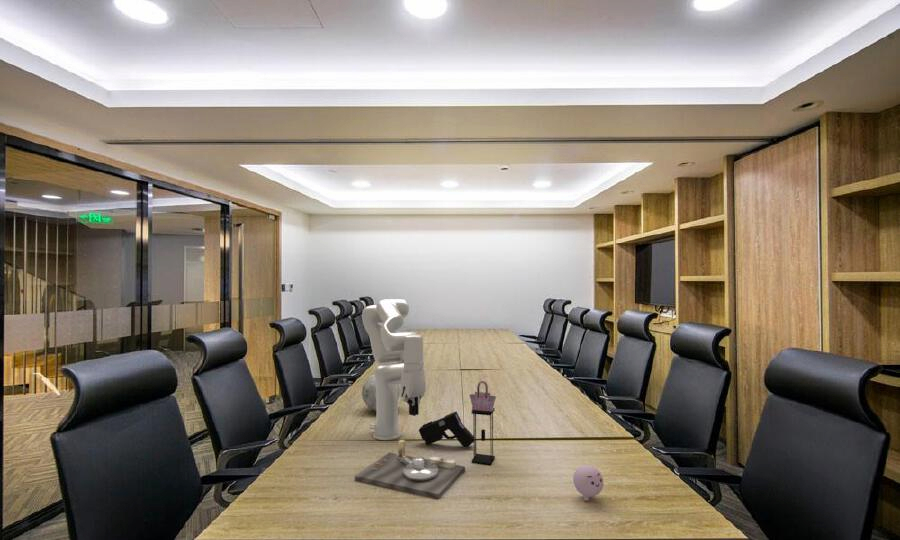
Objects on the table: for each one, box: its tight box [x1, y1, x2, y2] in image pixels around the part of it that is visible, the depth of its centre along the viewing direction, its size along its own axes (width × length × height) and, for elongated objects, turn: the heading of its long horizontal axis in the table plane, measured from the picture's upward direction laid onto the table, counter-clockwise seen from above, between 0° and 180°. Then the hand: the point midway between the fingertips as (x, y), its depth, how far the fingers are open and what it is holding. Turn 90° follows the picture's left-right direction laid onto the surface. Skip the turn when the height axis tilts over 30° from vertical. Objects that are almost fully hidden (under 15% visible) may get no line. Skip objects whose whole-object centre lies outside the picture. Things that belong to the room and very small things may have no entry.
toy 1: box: [418, 411, 474, 449], centre depth 179 cm, size 5×20×15 cm, turn 78°
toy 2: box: [572, 464, 604, 502], centre depth 135 cm, size 9×9×10 cm
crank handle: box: [395, 439, 438, 481], centre depth 154 cm, size 23×12×7 cm, turn 36°
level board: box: [354, 452, 466, 500], centre depth 152 cm, size 32×22×4 cm
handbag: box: [469, 380, 497, 466], centre depth 164 cm, size 10×8×30 cm
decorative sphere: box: [361, 373, 400, 412], centre depth 228 cm, size 20×20×20 cm
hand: (413, 414), depth 166 cm, fingers closed
